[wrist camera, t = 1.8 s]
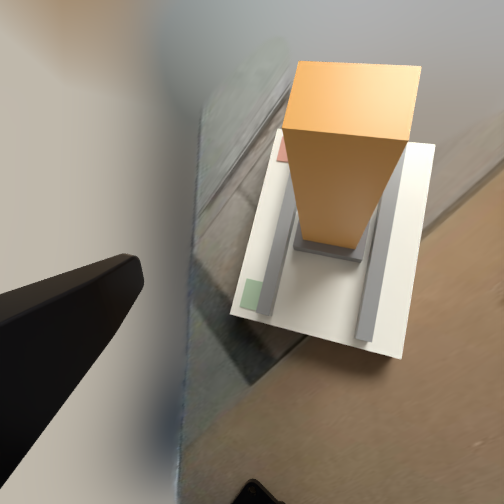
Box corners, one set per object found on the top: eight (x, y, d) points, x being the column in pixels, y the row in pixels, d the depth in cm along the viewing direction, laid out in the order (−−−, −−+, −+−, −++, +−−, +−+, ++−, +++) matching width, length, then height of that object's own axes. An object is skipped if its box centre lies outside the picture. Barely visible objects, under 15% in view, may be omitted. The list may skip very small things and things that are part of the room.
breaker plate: (392, 355, 19) (407, 362, 16) (237, 314, 21) (224, 313, 18) (424, 160, 21) (442, 133, 18) (280, 144, 23) (275, 117, 20)
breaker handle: (360, 262, 18) (429, 162, 7) (294, 249, 19) (258, 143, 8) (369, 215, 19) (447, 49, 7) (304, 205, 20) (284, 44, 8)
